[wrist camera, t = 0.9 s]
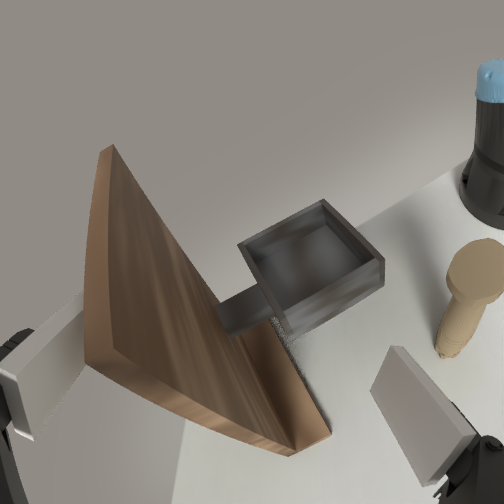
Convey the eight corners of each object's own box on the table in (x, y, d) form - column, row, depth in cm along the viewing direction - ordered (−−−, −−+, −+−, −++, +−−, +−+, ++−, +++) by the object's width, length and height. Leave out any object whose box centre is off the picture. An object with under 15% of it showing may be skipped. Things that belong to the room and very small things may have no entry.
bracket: (338, 273, 41) (286, 60, 22) (419, 379, 28) (493, 138, 9) (231, 332, 40) (100, 151, 21) (288, 456, 27) (84, 363, 8)
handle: (414, 347, 31) (436, 266, 20) (454, 317, 31) (485, 229, 20) (437, 379, 27) (477, 311, 17) (477, 346, 27) (524, 266, 17)
